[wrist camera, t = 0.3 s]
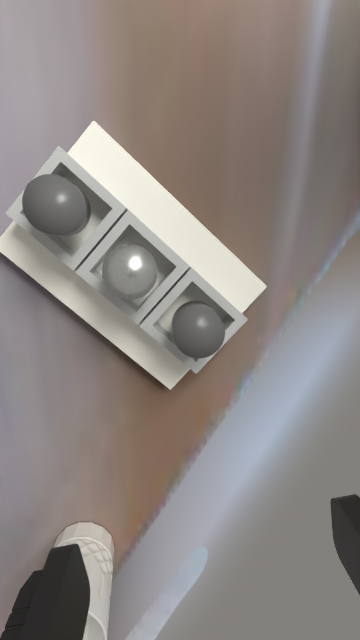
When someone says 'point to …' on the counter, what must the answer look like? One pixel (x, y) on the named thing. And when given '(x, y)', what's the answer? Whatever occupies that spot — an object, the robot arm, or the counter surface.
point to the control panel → (131, 229)
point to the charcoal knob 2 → (197, 329)
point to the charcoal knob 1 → (55, 206)
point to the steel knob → (129, 272)
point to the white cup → (94, 572)
